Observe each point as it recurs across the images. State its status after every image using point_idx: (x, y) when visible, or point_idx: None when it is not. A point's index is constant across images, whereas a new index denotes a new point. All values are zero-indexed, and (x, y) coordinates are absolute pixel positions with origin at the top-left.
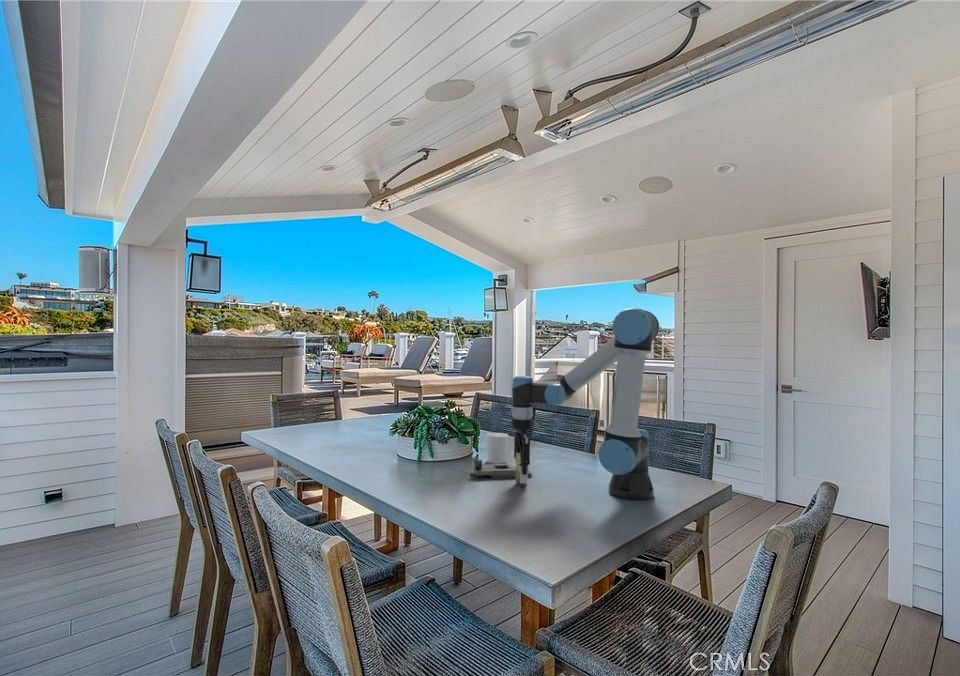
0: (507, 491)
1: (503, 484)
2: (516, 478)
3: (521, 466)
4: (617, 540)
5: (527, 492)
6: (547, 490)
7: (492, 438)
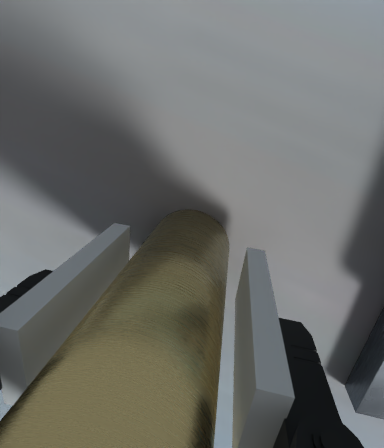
0: (73, 85)
1: (259, 124)
2: (177, 230)
3: (2, 324)
4: None
5: (42, 216)
6: None
7: None
